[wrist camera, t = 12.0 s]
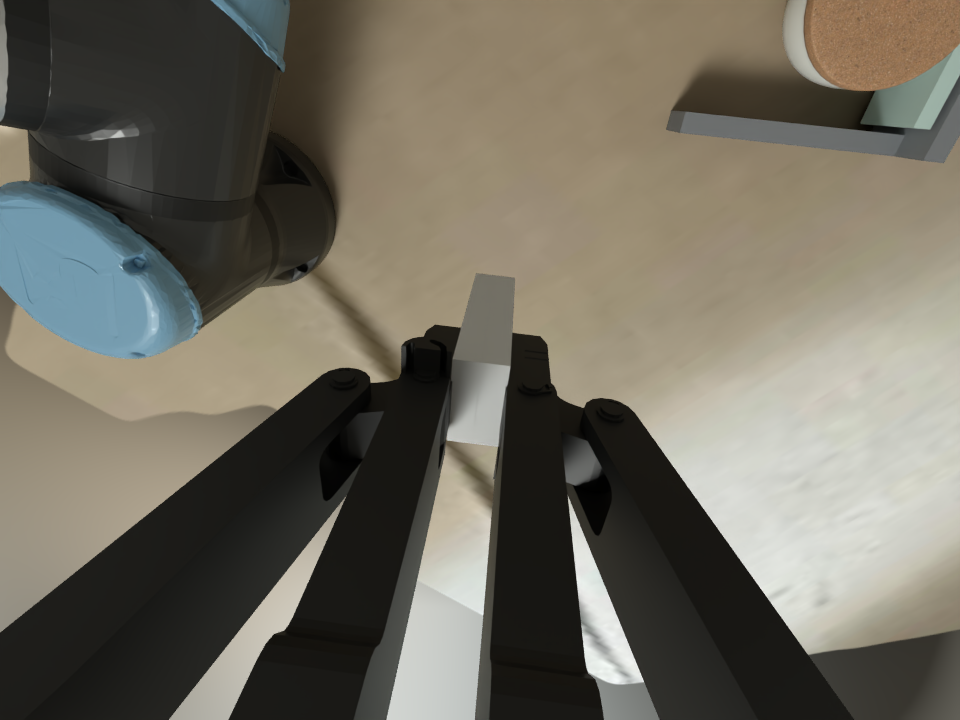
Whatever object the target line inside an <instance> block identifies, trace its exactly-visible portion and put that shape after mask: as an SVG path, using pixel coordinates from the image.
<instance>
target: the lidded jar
mask: <svg viewBox="0 0 960 720" xmlns="http://www.w3.org/2000/svg"><path fill="white" fill-rule="evenodd" d="M782 37H783V44H784V48H785V51H786V54H787V57H788V59H789V60H790V62H791V64H792V66H793V67H794V68H795V69H796V70H797V72H798V73H800V74H801V75H802V76H804V77H805V78H806V79H808V80H810V81H812V82H814V83H816V84H819V85H822V86H826V87H831V88H836V89H848V90H853V91H874V90H881V89H887V88H890V87H894V86H897V85H900V84H903V83H905V82H907V81H909V80H912V79H914V78H916V77H917V76H919V75H921V74H923V73H924V72H926V71H928V70H929V69H931V68H932V67H933V66H935V65H936V64H937V63H939V62H940V61H942V60H943V59H944V58H945V57H946V56H947V55H948V54H950V53H951V52H952V51H953V50H954V49H955V48H956V47H957V46H958V45H959V44H960V0H788V1H787V5H786V8H785V12H784V18H783V24H782Z"/></svg>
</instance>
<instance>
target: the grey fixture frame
mask: <svg viewBox="0 0 960 720" xmlns="http://www.w3.org/2000/svg"><path fill="white" fill-rule="evenodd" d="M666 130H669V131H674V132H678V133H686V134H695V135H704V136H713V137H722V138H732V139H741V140H750V141H759V142H768V143H777V144H786V145H796V146H805V147H814V148H823V149H832V150H841V151H850V152H860V153H869V154H878V155H887V156H896V157H902V158H908V159H915V160H921V161H929V162H939V163H944V162H945V160H946V158H947V157H948V155H949V153H950V151H951V150H952V148H953V146H954V144H955V143H956V141H957V139H958V137H959V136H960V75H959V77H958V79H957V81H956V83H955V85H954V87H953V88H952V90H951V92H950V94H949V96H948V98H947V100H946V101H945V103H944V105H943V107H942V109H941V111H940V112H939V114H938V116H937V118H936V120H935V122H934V124H933V125H932V127H931V129H930V130H928V129H915V128H902V127H889V126H876V125H874V127H873V129H872V131H871V132H870V131H860V130H851V129H842V128H832V127H823V126H814V125H805V124H795V123H786V122H777V121H768V120H758V119H749V118H740V117H731V116H721V115H712V114H703V113H694V112H684V111H672V110H671V114H670V118H669V121H668V125H667V129H666Z"/></svg>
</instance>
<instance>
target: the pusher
mask: <svg viewBox="0 0 960 720" xmlns="http://www.w3.org/2000/svg"><path fill="white" fill-rule="evenodd" d="M959 75H960V44H959V45H958V46H957V47H956V48H955V49H954V50H953V51H952V52H951V53H950V54H948V55H947V56H946V57H945V58H944V59H943V60H942V61H940V62H939V63H937V64H936V65H935V66H933V67H932V68H931V69H929V70H928V71H926V72H924V73H923V74H921V75H919V76H917V77H916V78H914V79H912V80H909V81H907V82H905V83H903V84H900V85H897V86H894V87H890V88H887V89H881V90H875V93H874V95H873V97H872V99H871V101H870V103H869V105H868V108H867V110H866V112H865V114H864V116H863V118H862V120H861V123H860V124H866V125H876V126H889V127H902V128H915V129H928V130H930V129H931V127H932V125H933V124H934V122H935V120H936V118H937V116H938V114H939V112H940V111H941V109H942V107H943V105H944V103H945V101H946V100H947V98H948V96H949V94H950V92H951V90H952V88H953V87H954V85H955V83H956V81H957V79H958V77H959Z"/></svg>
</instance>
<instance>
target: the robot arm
mask: <svg viewBox="0 0 960 720" xmlns="http://www.w3.org/2000/svg"><path fill="white" fill-rule="evenodd" d="M289 15H290V1H289V0H0V125H2V126H8V127H14V128H19V129H25V130H28V143H29V162H30V180H29V181H18V182H11V183H7V184H5V185H3V186H1V187H0V286H1V287H2V288H3V289H4V291H5V292H6V293H7V294H8V295H9V296H10V297H11V299H13V301H14V302H16V303H17V304H18V305H20V306H21V307H22V308H23V309H24V310H25V311H26V312H27V313H28V314H29V315H30V316H31V317H32V318H33V319H35V320H36V321H37V322H39V323H40V324H41V325H43V326H44V327H45V328H47V329H48V330H50V331H51V332H53V333H55V334H56V335H58V336H60V337H61V338H63V339H65V340H67V341H69V342H71V343H73V344H75V345H77V346H79V347H82V348H84V349H87V350H89V351H92V352H95V353H98V354H102V355H106V356H111V357H116V358H125V359H139V358H145V357H151V356H154V355H157V354H160V353H163V352H164V351H166V350H168V349H170V348H172V347H174V346H175V345H177V344H179V343H181V342H183V341H187V340H189V339H191V338H193V337H194V336H195V335H196V334H198V331H199V330H200V329H201V328H202V327H204V326H205V325H207V324H208V323H209V322H211V321H212V320H214V319H215V318H216V317H218V316H219V315H220V314H222V313H223V312H225V311H226V310H227V309H229V308H230V307H232V306H233V305H234V304H236V303H237V302H238V301H240V300H241V299H243V298H244V297H245V296H247V295H248V294H250V293H251V292H252V291H254V290H255V289H256V288H260V287H269V286H279V285H285V284H289V283H292V282H294V281H297V280H299V279H301V278H303V277H304V276H306V275H307V274H309V273H310V272H311V271H312V270H314V269H315V268H316V267H317V266H318V265H319V264H320V263H321V262H322V261H323V260H324V258H325V257H326V255H327V254H328V252H329V250H330V248H331V245H332V242H333V238H334V233H335V213H334V207H333V202H332V199H331V196H330V193H329V190H328V188H327V186H326V184H325V182H324V180H323V178H322V176H321V175H320V173H319V171H318V170H317V169H316V167H315V166H314V165H313V163H312V162H311V161H310V160H309V159H308V158H307V156H306V155H305V154H304V153H303V152H302V151H300V150H299V149H298V148H297V147H296V146H294V145H293V144H292V143H290V142H289V141H287V140H286V139H284V138H282V137H281V136H279V135H277V134H275V133H272V132H270V131H269V129H270V124H271V119H272V114H273V109H274V104H275V99H276V94H277V89H278V84H279V79H280V74H281V72H283V73H284V71H285V62H284V60H283V54H284V48H285V41H286V34H287V28H288V21H289ZM514 290H515V278H512V277H504V276H495V275H487V274H478V273H476V276H475V280H474V283H473V287H472V290H471V294H470V298H469V301H468V305H467V309H466V312H465V316H464V319H463V323H462V327H461V328H458V327H450V326H442V325H434V326H433V327H431V328H430V329H428V330H427V331H426V333H425V335H424V337H417V338H412V339H410V340H408V341H405V343H404V344H403V345H402V346H401V374H400V377H399V379H397V380H393V381H389V382H380V383H370V377H369V376H368V375H367V373H366V372H363V371H361V370H359V369H353V368H338V369H335V370H331V371H328V372H327V373H325V374H323V375H321V376H320V377H319V378H318V379H316V380H315V381H314V382H313V383H311V384H310V385H309V386H308V387H306V388H305V389H304V390H303V391H301V392H300V393H299V394H298V395H296V396H295V397H294V398H293V399H291V400H290V401H289V402H288V403H286V404H285V405H284V406H283V407H281V408H280V409H279V410H278V411H276V412H275V413H274V414H273V415H271V416H270V417H269V418H268V419H266V420H265V421H264V422H263V423H262V424H260V425H259V426H258V427H256V428H255V429H254V430H253V431H252V432H250V433H249V434H248V435H246V436H245V437H244V438H243V439H241V440H240V441H239V442H238V443H236V444H235V445H234V446H233V447H231V448H230V449H229V450H228V451H226V452H225V453H224V454H223V455H222V456H220V457H219V458H218V459H216V460H215V461H214V462H213V463H212V464H210V465H209V466H208V467H206V468H205V469H204V470H203V471H201V472H200V473H199V474H198V475H197V476H195V477H194V478H193V479H192V480H190V481H189V482H188V483H186V485H184V486H183V487H181V488H180V489H179V490H178V491H177V492H175V493H174V494H173V495H172V496H170V497H169V498H168V499H167V500H165V501H164V502H163V503H162V504H160V505H159V506H158V507H156V509H154V510H153V511H152V512H150V513H149V514H148V515H147V516H145V517H144V518H143V519H142V520H140V521H139V522H138V523H137V524H135V525H134V526H133V527H132V528H130V529H129V530H128V531H127V532H125V533H124V534H123V535H122V536H120V537H119V538H118V539H117V540H115V541H114V542H113V543H112V544H110V545H109V546H108V547H107V548H105V549H104V550H103V551H102V552H100V553H99V554H98V555H97V556H95V557H94V558H93V559H92V560H90V561H89V562H88V563H87V564H85V565H84V566H83V567H82V568H80V569H79V570H78V571H77V572H75V573H74V574H73V575H72V576H70V577H69V578H68V579H67V580H66V581H64V582H63V583H62V584H60V585H59V586H58V587H57V588H55V589H54V590H53V591H52V592H50V593H49V594H48V595H47V596H45V597H44V598H43V599H42V600H40V601H39V602H38V603H37V604H35V605H34V606H33V607H32V608H30V609H29V610H28V611H27V612H25V613H24V614H23V615H22V616H20V617H19V618H18V619H17V620H15V621H14V622H13V623H12V624H10V625H9V626H8V627H7V628H5V629H4V630H3V631H2V632H0V720H169V718H170V717H171V716H172V715H173V713H174V712H175V711H176V709H177V708H178V707H179V706H180V705H181V703H182V702H183V701H184V699H185V698H186V697H187V696H188V694H189V693H190V692H191V691H192V689H193V688H194V687H195V686H196V684H197V683H198V682H199V681H200V679H201V678H202V677H203V675H204V674H205V673H206V672H207V671H208V669H209V668H210V667H211V666H212V664H213V663H214V662H215V660H216V659H217V658H218V657H219V655H220V654H221V653H222V652H223V650H224V649H225V648H226V647H227V645H228V644H229V643H230V642H231V640H232V639H233V638H234V636H235V635H236V634H237V633H238V631H239V630H240V629H241V628H242V626H243V625H244V624H245V623H246V621H247V620H248V619H249V618H250V616H251V615H252V614H253V612H254V611H255V610H256V609H257V608H258V606H259V605H260V604H261V602H262V601H263V600H264V599H265V597H266V596H267V595H268V594H269V592H270V591H271V590H272V589H273V587H274V586H275V585H276V584H277V582H278V581H279V580H280V579H281V577H282V576H283V575H284V574H285V572H286V571H287V570H288V568H289V567H290V566H291V565H292V563H293V562H294V561H295V560H296V558H297V557H298V556H299V555H300V553H301V552H302V551H303V550H304V548H305V547H306V546H307V544H308V543H309V542H310V541H311V539H312V538H313V537H314V536H315V534H316V533H317V532H318V531H319V529H320V528H321V527H322V525H323V524H324V523H325V522H326V521H327V519H328V518H329V517H330V515H331V514H332V513H333V512H334V510H335V509H336V508H337V507H338V505H339V504H340V503H341V502H342V500H343V499H344V498H345V497H346V498H345V501H344V503H343V505H342V508H341V510H340V512H339V515H338V517H337V519H336V521H335V523H334V526H333V528H332V530H331V532H330V535H329V537H328V539H327V541H326V544H325V546H324V548H323V551H322V553H321V555H320V557H319V559H318V562H317V564H316V566H315V568H314V571H313V573H312V575H311V578H310V580H309V582H308V584H307V586H306V589H305V591H304V593H303V596H302V598H301V600H300V602H299V605H298V607H297V609H296V611H295V613H294V616H293V618H292V620H291V622H290V624H289V625H288V627H287V628H286V629H285V630H284V631H282V632H279V633H276V634H274V635H273V636H272V638H270V639H269V641H268V642H267V643H266V644H265V646H264V648H263V650H262V652H261V653H260V655H259V657H258V659H257V661H256V663H255V665H254V667H253V669H252V671H251V673H250V676H249V678H248V680H247V682H246V684H245V686H244V688H243V690H242V692H241V695H240V697H239V699H238V701H237V703H236V705H235V707H234V709H233V711H232V714H231V716H230V718H229V720H386V718H387V714H388V709H389V704H390V700H391V695H392V691H393V686H394V682H395V677H396V673H397V668H398V664H399V659H400V655H401V650H402V646H403V641H404V637H405V632H406V627H407V623H408V618H409V613H410V609H411V605H412V600H413V596H414V591H415V587H416V582H417V577H418V573H419V568H420V564H421V559H422V555H423V550H424V546H425V541H426V537H427V532H428V528H429V523H430V518H431V514H432V509H433V505H434V500H435V496H436V491H437V487H438V482H439V478H440V473H441V468H442V464H443V459H444V455H445V445H446V436H447V440H449V441H456V442H464V443H472V444H480V445H487V446H495V447H498V451H497V458H496V464H495V471H494V478H493V479H495V481H494V493H493V505H492V518H491V530H490V542H489V554H488V566H487V578H486V591H485V603H484V615H483V628H482V639H481V651H480V665H479V676H478V688H477V700H476V712H475V720H604V718H603V710H602V705H601V698H600V693H599V689H598V686H597V683H596V680H595V679H594V678H593V677H592V676H591V675H589V674H588V671H587V668H586V663H585V657H584V647H583V638H582V628H581V619H580V609H579V600H578V590H577V581H576V571H575V562H574V552H573V543H572V533H571V524H570V514H569V504H568V497H569V499H570V501H571V504H572V506H573V509H574V511H575V514H576V516H577V519H578V521H579V523H580V526H581V528H582V531H583V533H584V536H585V538H586V541H587V543H588V545H589V548H590V550H591V553H592V555H593V558H594V560H595V563H596V565H597V567H598V570H599V572H600V575H601V577H602V580H603V582H604V585H605V587H606V589H607V592H608V594H609V597H610V599H611V602H612V604H613V607H614V609H615V611H616V614H617V616H618V619H619V621H620V624H621V626H622V629H623V631H624V633H625V636H626V638H627V641H628V643H629V646H630V648H631V651H632V653H633V655H634V658H635V660H636V663H637V665H638V668H639V670H640V673H641V675H642V677H643V680H644V682H645V685H646V687H647V689H648V692H649V694H650V697H651V699H652V702H653V704H654V707H655V709H656V712H657V714H658V717H659V718H660V720H854V719H853V717H852V716H851V714H850V713H849V712H848V710H847V709H846V707H845V706H844V705H843V704H842V702H841V701H840V699H839V698H838V696H837V695H836V693H835V692H834V691H833V689H832V688H831V687H830V685H829V684H828V683H827V681H826V680H825V678H824V677H823V675H822V674H821V673H820V671H819V670H818V668H817V667H816V666H815V664H814V663H813V661H812V660H811V659H810V657H809V656H808V654H807V653H806V652H805V650H804V649H803V647H802V646H801V645H800V643H799V642H798V640H797V639H796V638H795V636H794V635H793V633H792V632H791V631H790V629H789V628H788V626H787V625H786V624H785V622H784V621H783V619H782V618H781V617H780V615H779V614H778V612H777V611H776V610H775V608H774V607H773V605H772V604H771V603H770V601H769V600H768V598H767V597H766V596H765V594H764V593H763V591H762V590H761V589H760V587H759V586H758V584H757V583H756V582H755V580H754V579H753V577H752V576H751V575H750V573H749V572H748V571H747V569H746V568H745V566H744V565H743V564H742V562H741V561H740V559H739V558H738V557H737V555H736V554H735V552H734V551H733V550H732V548H731V547H730V545H729V544H728V543H727V541H726V540H725V538H724V537H723V536H722V534H721V533H720V531H719V530H718V529H717V527H716V526H715V524H714V523H713V522H712V520H711V519H710V517H709V516H708V515H707V513H706V512H705V510H704V509H703V508H702V506H701V505H700V503H699V502H698V501H697V499H696V498H695V496H694V495H693V494H692V492H691V491H690V489H689V488H688V487H687V485H686V484H685V482H684V481H683V480H682V478H681V477H680V475H679V474H678V473H677V471H676V470H675V468H674V467H673V466H672V464H671V463H670V461H669V460H668V459H667V457H666V456H665V454H664V453H663V452H662V450H661V449H660V448H659V446H658V445H657V443H656V442H655V441H654V439H653V438H652V436H651V435H650V434H649V432H648V431H647V429H646V428H645V427H644V425H643V424H642V422H641V421H640V420H639V418H638V417H637V415H636V414H635V413H634V412H633V411H632V410H631V409H630V408H629V407H628V406H626V405H624V404H622V403H621V402H618V401H616V400H612V399H604V398H598V399H592V400H590V401H589V402H587V403H586V405H585V407H584V408H581V407H578V406H575V405H573V404H570V403H568V402H566V401H564V400H562V399H560V398H559V397H558V396H557V391H556V389H555V387H554V385H552V384H551V379H550V368H549V358H548V347H547V344H546V342H545V341H544V340H543V339H542V338H541V337H540V336H533V335H525V334H517V333H512V328H513V309H514ZM567 494H568V495H567ZM346 495H347V496H346Z"/></svg>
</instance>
